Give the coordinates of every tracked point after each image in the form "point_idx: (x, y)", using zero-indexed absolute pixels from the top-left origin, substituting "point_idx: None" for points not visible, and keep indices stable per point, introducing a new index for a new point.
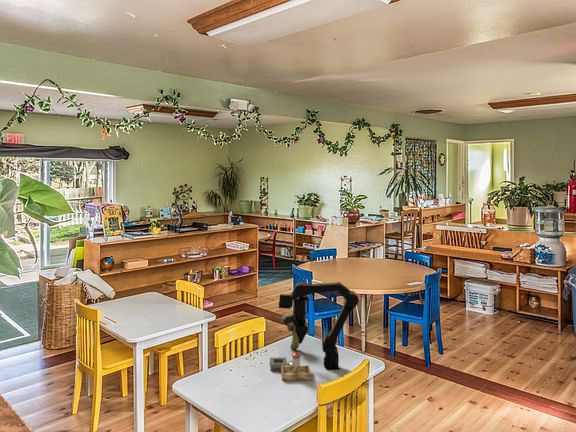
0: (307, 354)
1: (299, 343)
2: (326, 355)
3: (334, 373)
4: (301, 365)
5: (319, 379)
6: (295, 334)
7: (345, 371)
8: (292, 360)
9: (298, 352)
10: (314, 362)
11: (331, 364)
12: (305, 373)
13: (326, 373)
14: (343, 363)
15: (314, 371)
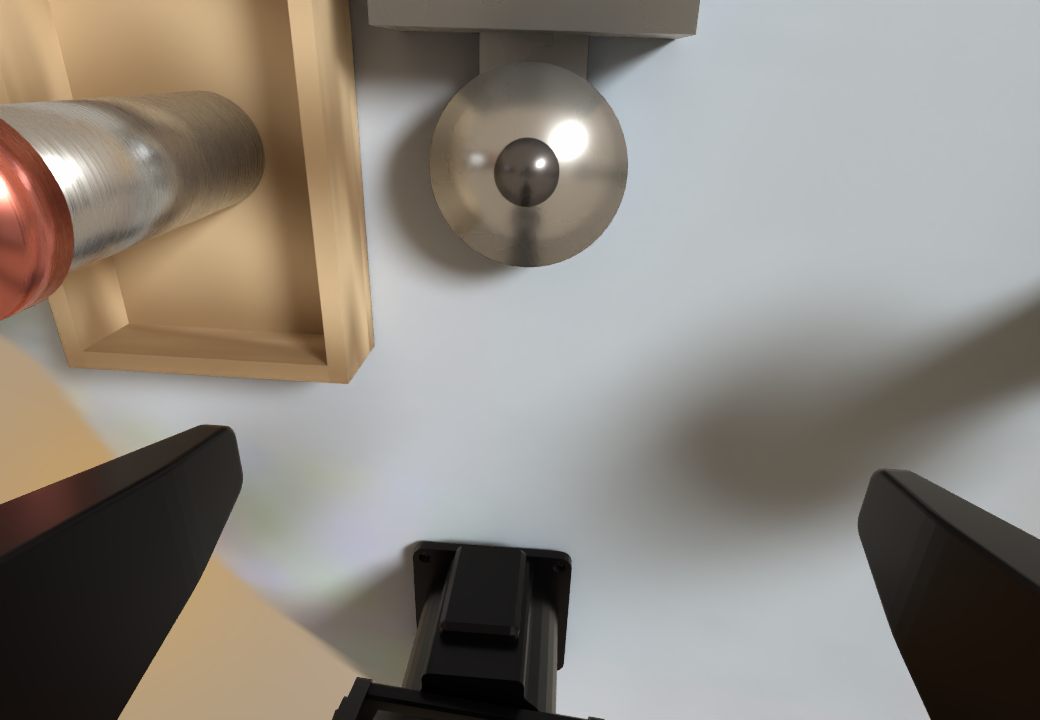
0: (937, 429)
1: (201, 436)
2: (449, 681)
3: (335, 591)
4: (333, 278)
5: (168, 425)
6: None
7: (387, 684)
8: (8, 104)
9: (14, 297)
10: (645, 464)
11: (416, 634)
12: (59, 291)
13: (330, 523)
14: (576, 713)
15: (377, 414)
